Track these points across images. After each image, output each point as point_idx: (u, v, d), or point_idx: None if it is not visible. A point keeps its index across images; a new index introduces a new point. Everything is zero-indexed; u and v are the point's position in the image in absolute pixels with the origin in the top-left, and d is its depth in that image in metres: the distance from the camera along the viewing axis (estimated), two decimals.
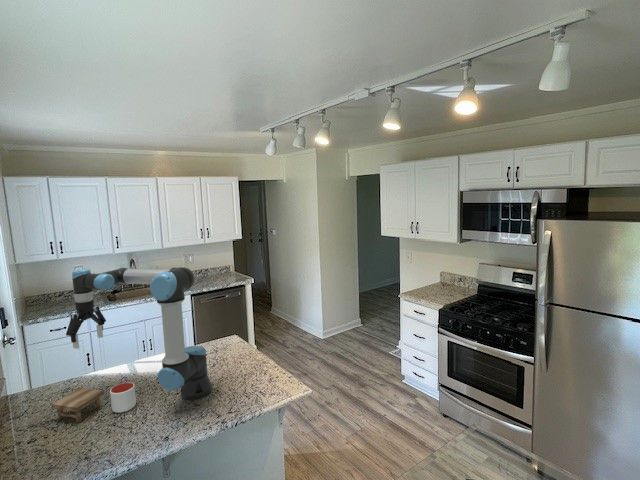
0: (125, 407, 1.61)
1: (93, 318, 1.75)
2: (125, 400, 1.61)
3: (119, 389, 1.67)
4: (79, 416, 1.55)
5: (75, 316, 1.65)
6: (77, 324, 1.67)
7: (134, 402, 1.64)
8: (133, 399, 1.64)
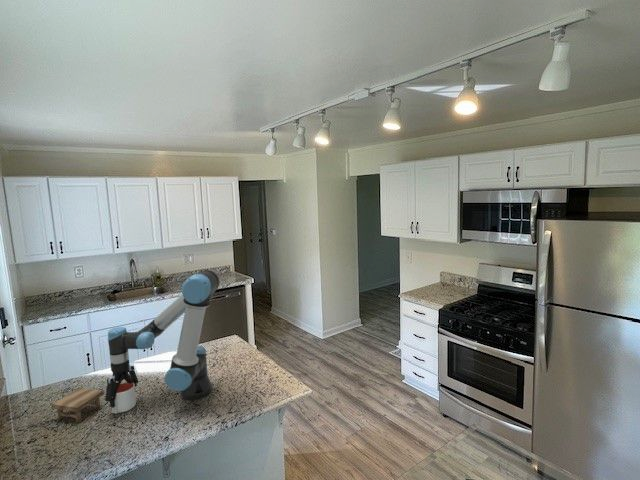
0: (125, 407, 1.61)
1: (127, 379, 1.66)
2: (125, 400, 1.61)
3: (119, 389, 1.67)
4: (79, 416, 1.55)
5: (112, 381, 1.57)
6: (114, 388, 1.59)
7: (134, 402, 1.64)
8: (133, 399, 1.64)
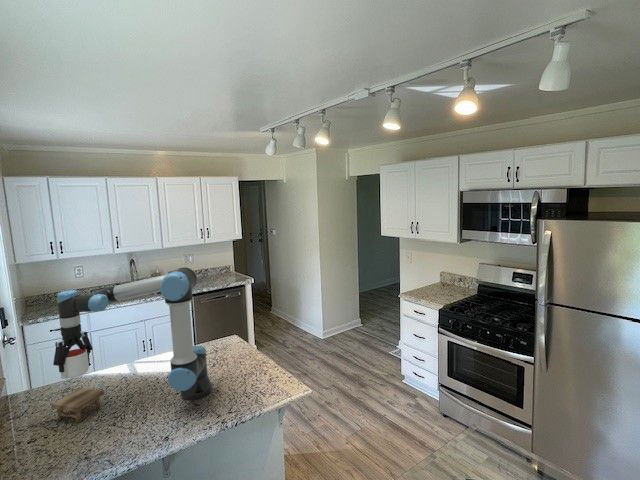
0: (75, 372, 1.55)
1: (79, 345, 1.61)
2: (75, 365, 1.55)
3: (71, 356, 1.62)
4: (79, 416, 1.55)
5: (60, 344, 1.51)
6: (64, 352, 1.54)
7: (85, 368, 1.59)
8: (85, 365, 1.58)
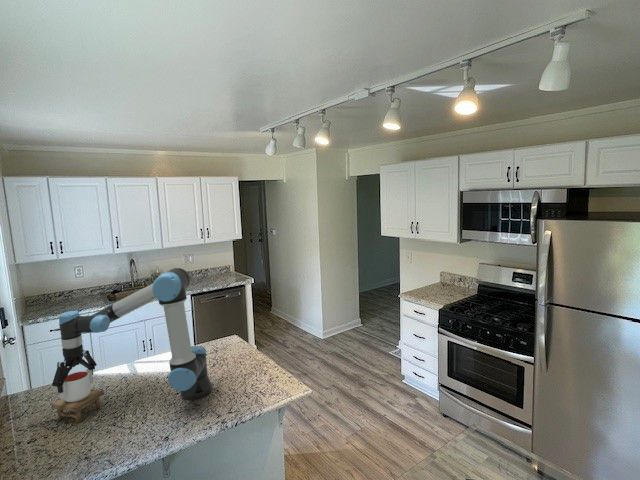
0: (78, 396, 1.56)
1: (82, 363, 1.62)
2: (78, 389, 1.56)
3: (73, 379, 1.63)
4: (79, 416, 1.55)
5: (62, 364, 1.52)
6: (64, 372, 1.54)
7: (87, 391, 1.60)
8: (87, 388, 1.59)
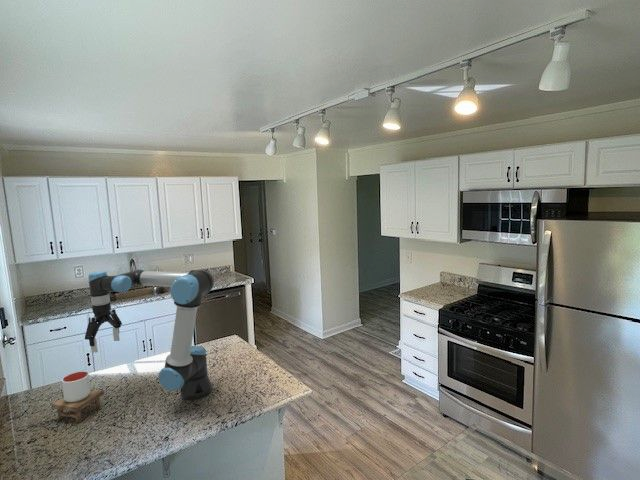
0: (78, 396, 1.56)
1: (110, 321, 1.72)
2: (78, 389, 1.56)
3: (73, 379, 1.63)
4: (79, 416, 1.55)
5: (93, 319, 1.62)
6: (95, 327, 1.64)
7: (87, 391, 1.60)
8: (87, 388, 1.59)
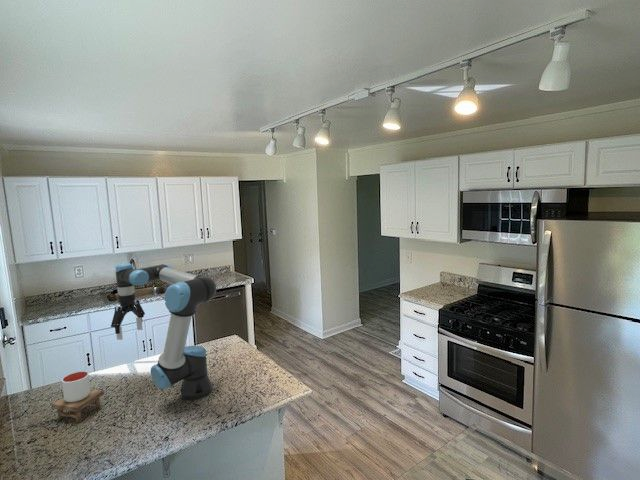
0: (78, 396, 1.56)
1: (134, 311, 1.83)
2: (78, 389, 1.56)
3: (73, 379, 1.63)
4: (79, 416, 1.55)
5: (119, 309, 1.72)
6: (120, 316, 1.74)
7: (87, 391, 1.60)
8: (87, 388, 1.59)
